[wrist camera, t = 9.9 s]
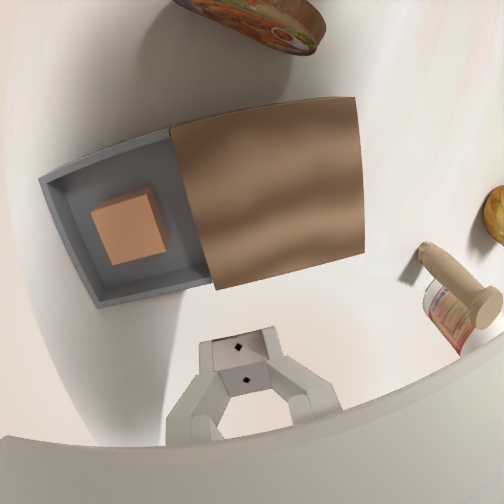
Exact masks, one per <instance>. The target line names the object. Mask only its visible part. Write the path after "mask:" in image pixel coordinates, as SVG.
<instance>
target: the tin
mask: <svg viewBox="0 0 504 504" xmlns="http://www.w3.org/2000/svg"><path fill="white" fill-rule="evenodd" d="M173 1H174V2H175V3H177V4H179V5H180V6H182V7H184V8H186V9H188V10H190V11H193V12H195V13H197V14H200V15H202V16H205V17H207V18H210V19H212V20H214V21H217V22H219V23H221V24H224V25H226V26H228V27H230V28H233V29H235V30H237V31H239V32H241V33H243V34H245V35H247V36H249V37H251V38H253V39H255V40H257V41H259V42H261V43H263V44H265V45H267V46H269V47H271V48H274V49H276V50H279V51H282V52H285V53H288V54H292V55H298V56H309V55H312V54H314V53H315V52H316V49H317V46H318V45H319V43H320V41H321V40H322V38H323V37H324V34H325V32H326V24H325V21H324V19H323V17H322V16H321V14H320V13H319V12H318V11H317V9H316V8H315V7H314V6H312V5H311V4H310V3H309V2H308V1H306V0H173Z"/></svg>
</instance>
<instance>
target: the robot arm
mask: <svg viewBox="0 0 504 504" xmlns="http://www.w3.org/2000/svg"><path fill="white" fill-rule="evenodd" d="M199 373H200V375H196V376H195V377H194V379H193V380H192V382H191V383H190V385H189V386H188V388H187V389H186V390H185V392H184V393H183V395H182V396H181V398H180V399H179V401H178V402H177V403H176V405H175V406H174V408H173V409H172V411H171V412H170V413H169V415H168V416H167V418H166V446H154V447H96V446H79V445H67V444H57V443H50V442H42V441H36V440H30V439H24V438H19V437H14V436H5V437H3V438H2V439H1V440H0V504H504V331H503V332H502V333H500V334H499V335H497V336H496V337H494V338H493V339H491V340H490V341H488V342H487V343H485V344H483V345H482V346H480V347H479V348H477V349H475V350H474V351H472V352H470V353H469V354H467V355H465V356H463V357H462V358H460V359H458V360H457V361H455V362H453V363H451V364H449V365H447V366H445V367H444V368H442V369H440V370H438V371H436V372H434V373H432V374H430V375H428V376H426V377H424V378H422V379H420V380H418V381H416V382H413V383H411V384H409V385H407V386H405V387H402V388H400V389H398V390H395V391H393V392H391V393H389V394H386V395H384V396H381V397H379V398H376V399H374V400H371V401H368V402H366V403H363V404H360V405H358V406H355V407H352V408H349V409H346V410H344V411H343V410H342V407H341V405H340V402H339V400H338V397H337V395H336V393H335V390H334V388H333V385H332V384H331V383H329V382H328V381H326V380H324V379H323V378H321V377H320V376H318V375H317V374H315V373H314V372H312V371H311V370H309V369H308V368H306V367H304V366H303V365H301V364H300V363H298V362H297V361H295V360H294V359H292V358H291V357H290V356H284V354H283V351H282V347H281V344H280V341H279V338H278V334H277V331H276V328H275V327H274V326H272V327H268V328H264V329H262V330H261V329H260V330H256V331H252V332H248V333H244V334H239V335H236V336H230V337H225V338H220V339H215V340H211V341H205V342H200V343H199ZM267 389H273V390H274V391H275V392H277V394H278V395H280V396H281V397H282V398H283V399H284V400H285V401H287V402H288V404H289V409H290V414H291V420H292V425H293V426H289V427H285V428H280V429H276V430H272V431H267V432H263V433H258V434H253V435H248V436H242V437H236V438H231V439H224V437H223V436H222V435H221V433H220V432H219V430H218V429H217V426H218V424H219V422H220V420H221V417H222V416H223V413H224V411H225V409H226V407H227V405H228V403H229V401H230V397H235V396H239V395H243V394H247V393H251V392H257V391H262V390H267Z"/></svg>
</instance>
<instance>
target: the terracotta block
mask: <svg viewBox="0 0 504 504" xmlns="http://www.w3.org/2000/svg"><path fill="white" fill-rule="evenodd" d="M91 215H92V218H93V220H94V223H95V225H96V228H97V230H98V233H99V235H100V237H101V240H102V242H103V244H104V247H105V249H106V251H107V254H108V256H109V258H110V260H111V263H112V265H116V264H120V263H123V262H127V261H131V260H135V259H139V258H142V257H146V256H150V255H154V254H158V253H162V252H166V249H167V245H168V240H169V237H168V234H167V231H166V228H165V225H164V222H163V219H162V216H161V213H160V210H159V207H158V204H157V200H156V197H155V194H154V191H153V188H152V186H149V187H145V188H142V189H139V190H136V191H132V192H129V193H126V194H123V195H120V196H117V197H114V198H111V199H108V200H105V201H102V202H100V203H99V204H98V205H97V206H96V207H95V208H94V209H93V210H92V211H91Z"/></svg>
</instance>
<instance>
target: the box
mask: <svg viewBox="0 0 504 504" xmlns="http://www.w3.org/2000/svg"><path fill="white" fill-rule="evenodd" d="M172 127H173V126H171V127H168V128H164V129H161V130H157V131H154V132H151V133H148V134H145V135H141V136H138V137H135V138H132V139H129V140H127V141H124V142H121V143H118V144H115V145H112V146H110V147H107V148H104V149H102V150H99V151H97V152H94V153H92V154H89V155H87V156H84V157H82V158H79V159H77V160H74V161H72V162H70V163H68V164H65V165H63V166H61V167H59V168H56V169H54V170H52V171H50V172H49V173H47V174H45V175H43V176H42V177H40V178H38V180H39V183H40V186H41V188H42V191H43V194H44V197H45V199H46V202H47V205H48V207H49V210H50V212H51V215H52V217H53V220H54V222H55V225H56V227H57V229H58V232H59V234H60V236H61V238H62V241H63V243H64V245H65V247H66V249H67V252H68V254H69V256H70V258H71V260H72V262H73V264H74V266H75V268H76V270H77V272H78V274H79V276H80V278H81V280H82V282H83V284H84V286H85V287H86V289H87V291H88V293H89V295H90V297H91V298H92V300H93V302H94V304H95V306H96V307H97V309H99V308H103V307H108V306H113V305H117V304H122V303H126V302H131V301H135V300H140V299H144V298H149V297H153V296H158V295H162V294H167V293H171V292H175V291H180V290H184V289H188V288H192V287H197V286H201V285H206V284H210V283H213V282H212V277H211V273H210V270H209V267H208V264H207V261H206V257H205V254H204V251H203V248H202V244H201V241H200V238H199V234H198V231H197V228H196V224H195V221H194V218H193V214H192V211H191V207H190V204H189V200H188V197H187V193H186V190H185V186H184V183H183V179H182V175H181V172H180V168H179V164H178V160H177V157H176V153H175V149H174V145H173V141H172V137H171V134H170V130H169V129H171V128H172ZM149 186H152V188H153V191H154V194H155V197H156V200H157V204H158V207H159V210H160V213H161V216H162V219H163V222H164V225H165V228H166V231H167V234H168V237H169V240H168V245H167V249H166V252H162V253H158V254H154V255H150V256H146V257H142V258H139V259H135V260H131V261H127V262H123V263H120V264H116V265H112V263H111V260H110V258H109V256H108V254H107V251H106V249H105V247H104V244H103V242H102V240H101V237H100V235H99V233H98V230H97V228H96V225H95V223H94V220H93V218H92V215H91V211H92V210H93V209H94V208H95V207H96V206H97V205H98V204H99V203H100V202H102V201H105V200H108V199H111V198H114V197H117V196H120V195H123V194H126V193H129V192H132V191H136V190H139V189H142V188H145V187H149Z"/></svg>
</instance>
